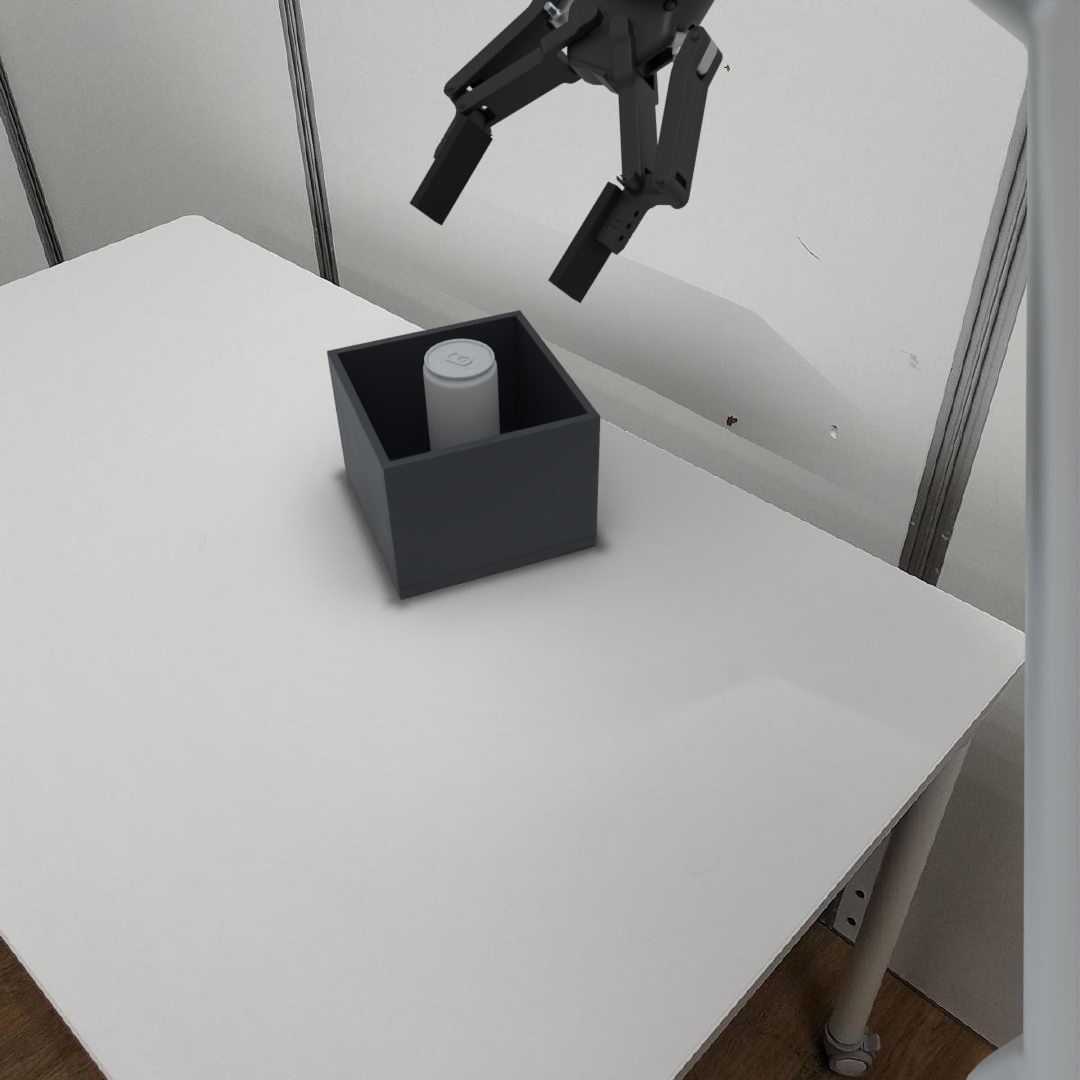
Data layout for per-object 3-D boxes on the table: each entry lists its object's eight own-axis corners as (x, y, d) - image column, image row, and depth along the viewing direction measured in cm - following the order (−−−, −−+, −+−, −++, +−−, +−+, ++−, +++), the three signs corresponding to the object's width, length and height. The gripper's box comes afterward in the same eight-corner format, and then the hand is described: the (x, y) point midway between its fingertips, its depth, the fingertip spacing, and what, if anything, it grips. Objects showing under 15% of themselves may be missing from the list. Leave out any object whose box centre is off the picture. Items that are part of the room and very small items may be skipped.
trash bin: (596, 545, 78) (600, 416, 70) (400, 600, 74) (383, 469, 66) (523, 433, 88) (520, 309, 80) (346, 476, 84) (326, 350, 76)
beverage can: (478, 531, 77) (469, 386, 69) (421, 507, 79) (406, 364, 71) (515, 493, 80) (511, 350, 72) (460, 471, 82) (450, 330, 74)
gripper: (867, 27, 63) (662, 353, 65) (569, -60, 77) (410, 212, 79) (823, -60, 56) (598, 303, 59) (507, -137, 71) (338, 160, 73)
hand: (490, 251), depth 69 cm, fingers open, 13 cm apart
